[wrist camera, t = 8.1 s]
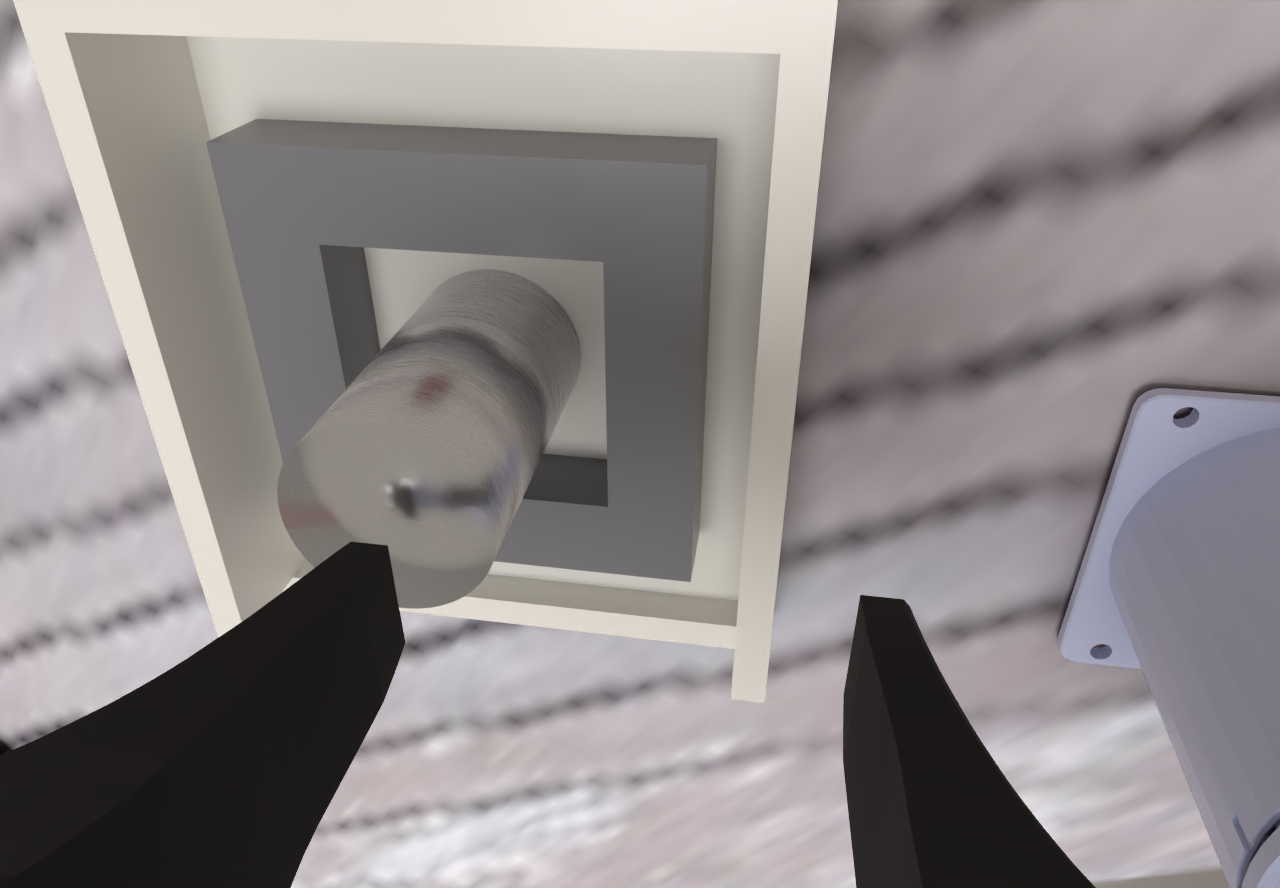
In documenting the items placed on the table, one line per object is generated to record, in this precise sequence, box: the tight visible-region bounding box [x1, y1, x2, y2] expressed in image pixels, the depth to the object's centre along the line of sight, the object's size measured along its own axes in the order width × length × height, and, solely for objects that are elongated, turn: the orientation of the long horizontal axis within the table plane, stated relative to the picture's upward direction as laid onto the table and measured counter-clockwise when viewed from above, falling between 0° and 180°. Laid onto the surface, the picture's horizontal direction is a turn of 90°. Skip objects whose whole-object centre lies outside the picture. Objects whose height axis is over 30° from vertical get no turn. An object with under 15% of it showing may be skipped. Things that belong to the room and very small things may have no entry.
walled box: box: [13, 0, 838, 703], centre depth 21 cm, size 14×16×4 cm
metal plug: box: [277, 269, 581, 609], centre depth 19 cm, size 4×4×7 cm
